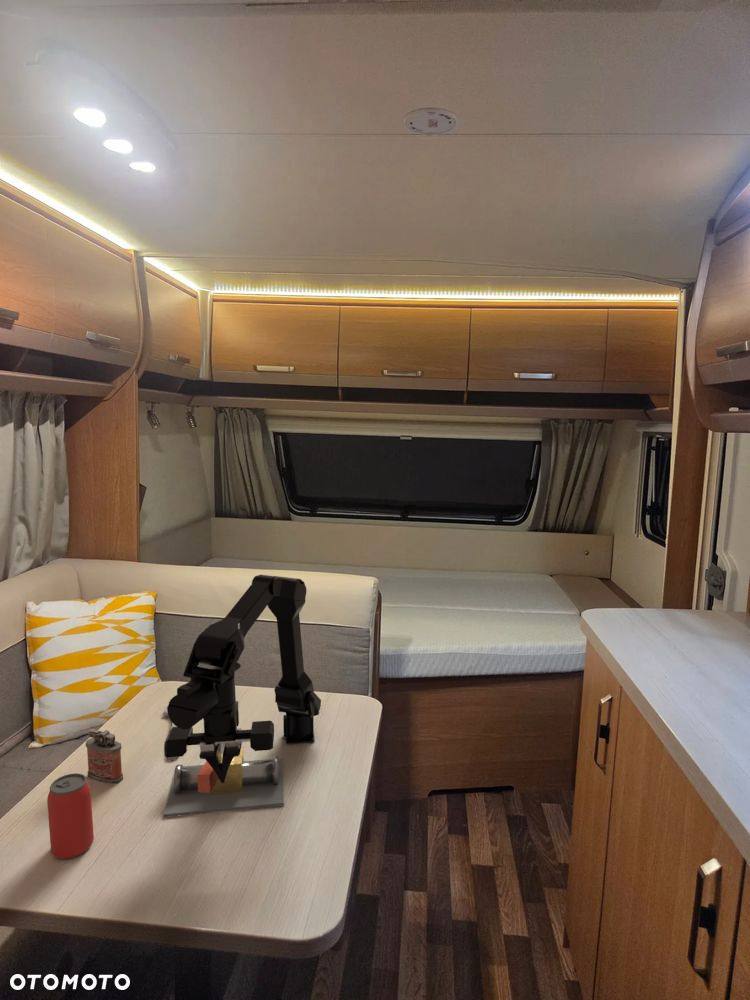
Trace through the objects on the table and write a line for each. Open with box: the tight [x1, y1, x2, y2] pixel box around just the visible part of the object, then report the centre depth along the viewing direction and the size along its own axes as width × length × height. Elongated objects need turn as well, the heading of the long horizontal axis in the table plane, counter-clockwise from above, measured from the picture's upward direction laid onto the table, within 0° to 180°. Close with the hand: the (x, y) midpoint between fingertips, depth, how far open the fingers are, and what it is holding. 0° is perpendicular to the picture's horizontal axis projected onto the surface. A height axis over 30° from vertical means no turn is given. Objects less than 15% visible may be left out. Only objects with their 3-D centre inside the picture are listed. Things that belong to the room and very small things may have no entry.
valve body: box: [173, 746, 279, 795], centre depth 118 cm, size 20×6×7 cm, turn 100°
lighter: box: [85, 728, 124, 785], centre depth 120 cm, size 8×3×10 cm, turn 71°
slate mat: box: [163, 757, 285, 818], centre depth 118 cm, size 22×15×1 cm
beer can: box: [46, 773, 95, 860], centre depth 101 cm, size 7×7×12 cm
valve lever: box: [198, 743, 225, 793], centre depth 112 cm, size 13×2×3 cm, turn 174°
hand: (223, 781), depth 108 cm, fingers closed
